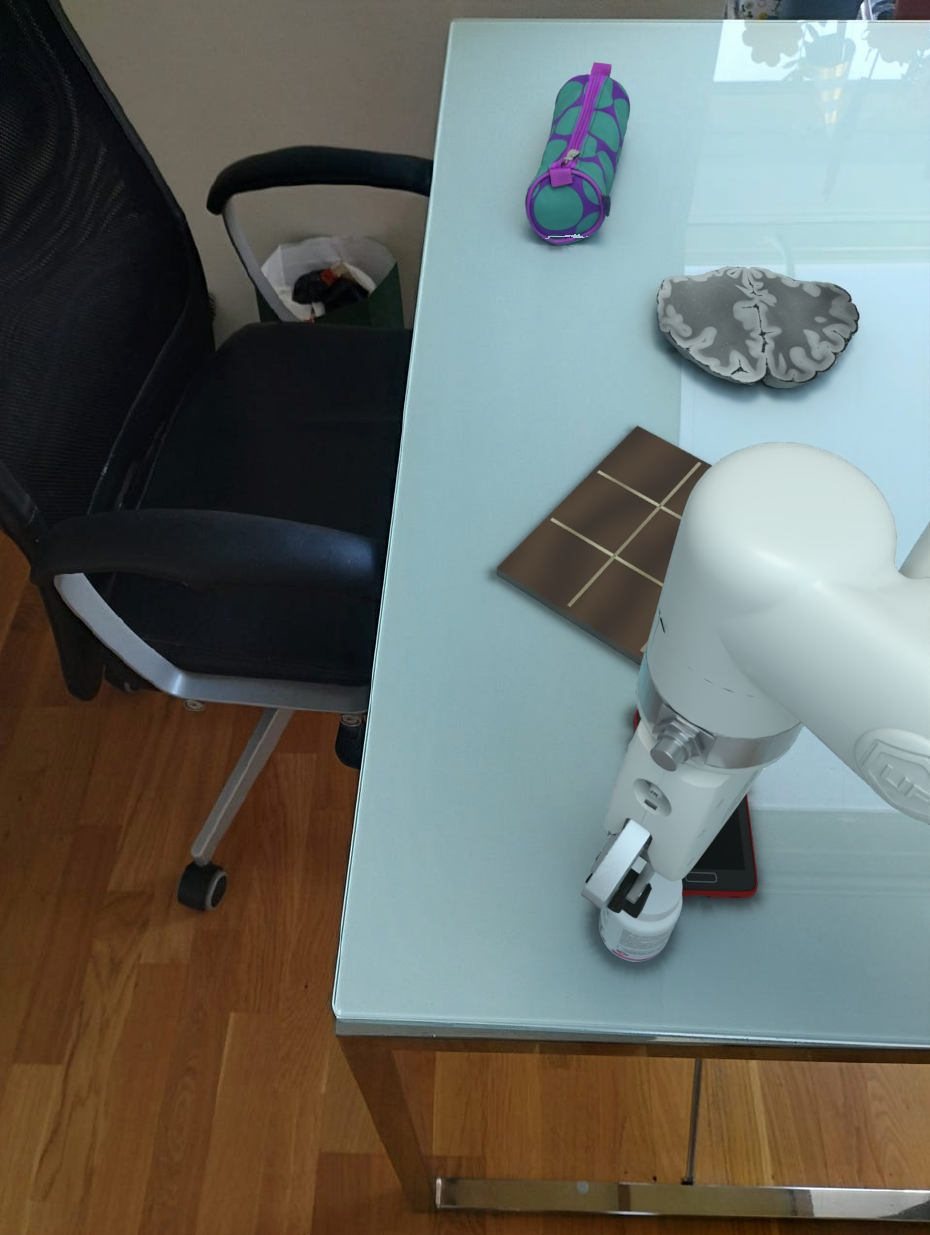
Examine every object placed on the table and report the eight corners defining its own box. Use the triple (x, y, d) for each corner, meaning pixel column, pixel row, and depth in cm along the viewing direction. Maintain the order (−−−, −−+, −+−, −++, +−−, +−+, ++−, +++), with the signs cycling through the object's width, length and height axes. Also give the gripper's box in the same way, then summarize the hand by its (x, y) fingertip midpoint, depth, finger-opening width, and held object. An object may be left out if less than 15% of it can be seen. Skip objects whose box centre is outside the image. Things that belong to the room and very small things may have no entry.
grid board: (841, 543, 90) (845, 535, 89) (712, 711, 81) (715, 704, 80) (636, 432, 98) (637, 424, 97) (496, 574, 89) (496, 566, 88)
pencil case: (604, 256, 112) (614, 173, 105) (522, 246, 114) (525, 164, 106) (627, 146, 124) (637, 65, 116) (552, 138, 125) (558, 57, 117)
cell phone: (643, 897, 73) (645, 892, 72) (632, 710, 81) (633, 704, 80) (757, 900, 72) (760, 895, 72) (733, 713, 81) (736, 706, 80)
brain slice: (659, 405, 100) (664, 382, 97) (647, 289, 109) (651, 265, 107) (869, 409, 99) (879, 385, 97) (838, 292, 109) (847, 267, 106)
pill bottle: (683, 931, 71) (705, 887, 64) (633, 978, 70) (651, 937, 63) (632, 880, 73) (649, 831, 66) (583, 923, 72) (595, 878, 65)
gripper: (693, 882, 41) (633, 996, 56) (892, 602, 49) (794, 765, 63) (539, 772, 44) (519, 908, 58) (751, 522, 52) (687, 696, 66)
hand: (662, 834), depth 61 cm, fingers open, 9 cm apart
